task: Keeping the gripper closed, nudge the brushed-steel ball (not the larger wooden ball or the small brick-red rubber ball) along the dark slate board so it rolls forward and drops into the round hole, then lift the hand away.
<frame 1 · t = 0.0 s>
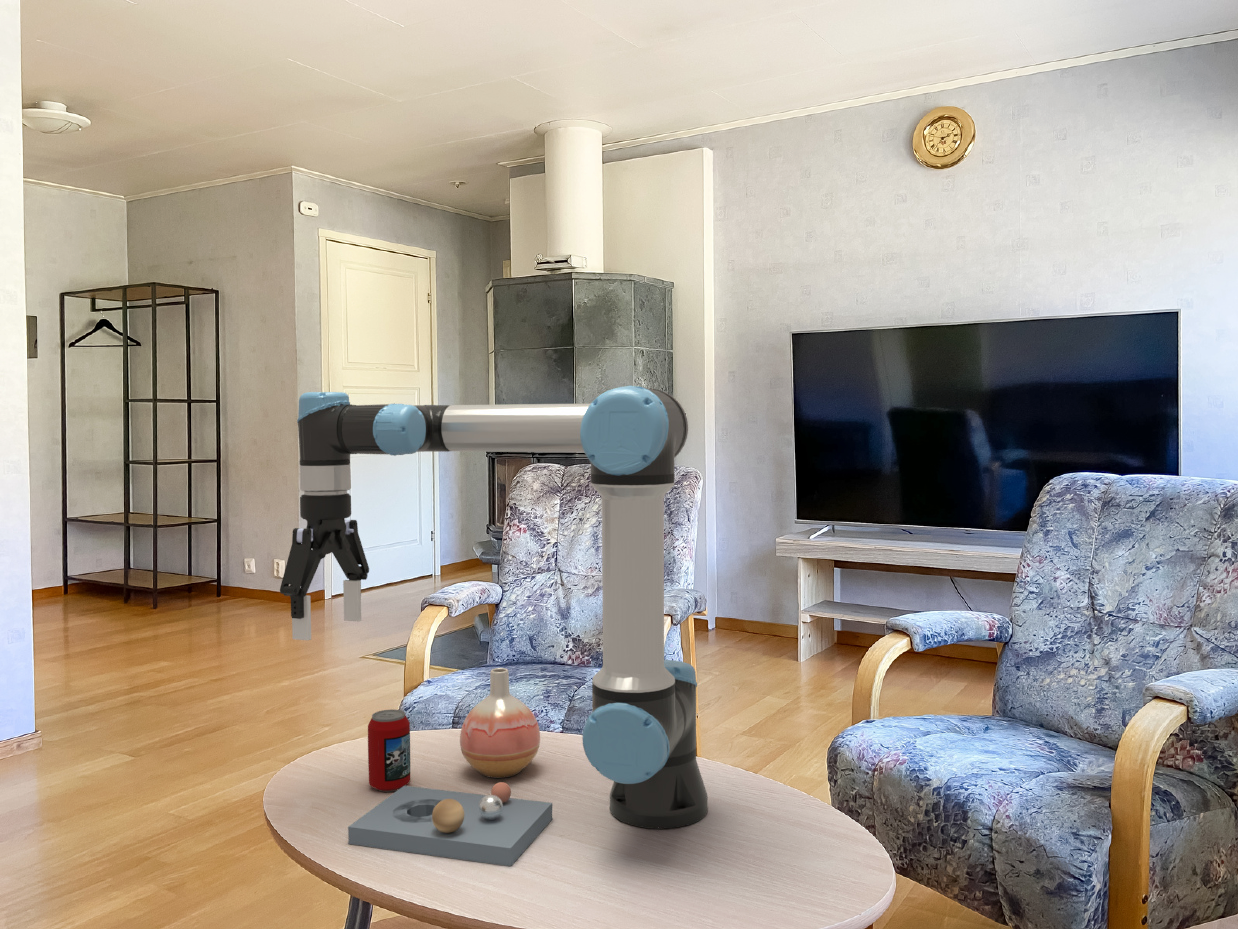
hand: (328, 629, 149), 28 cm above the table, fingers open, 13 cm apart
vase: (500, 772, 165), on the table
wooden ball: (448, 815, 135), point 5 cm above the table, touching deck
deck: (453, 831, 142), on the table
beverage can: (389, 787, 159), on the table
steel ball: (490, 807, 140), point 4 cm above the table, touching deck
rubber ball: (501, 792, 146), point 4 cm above the table, touching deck
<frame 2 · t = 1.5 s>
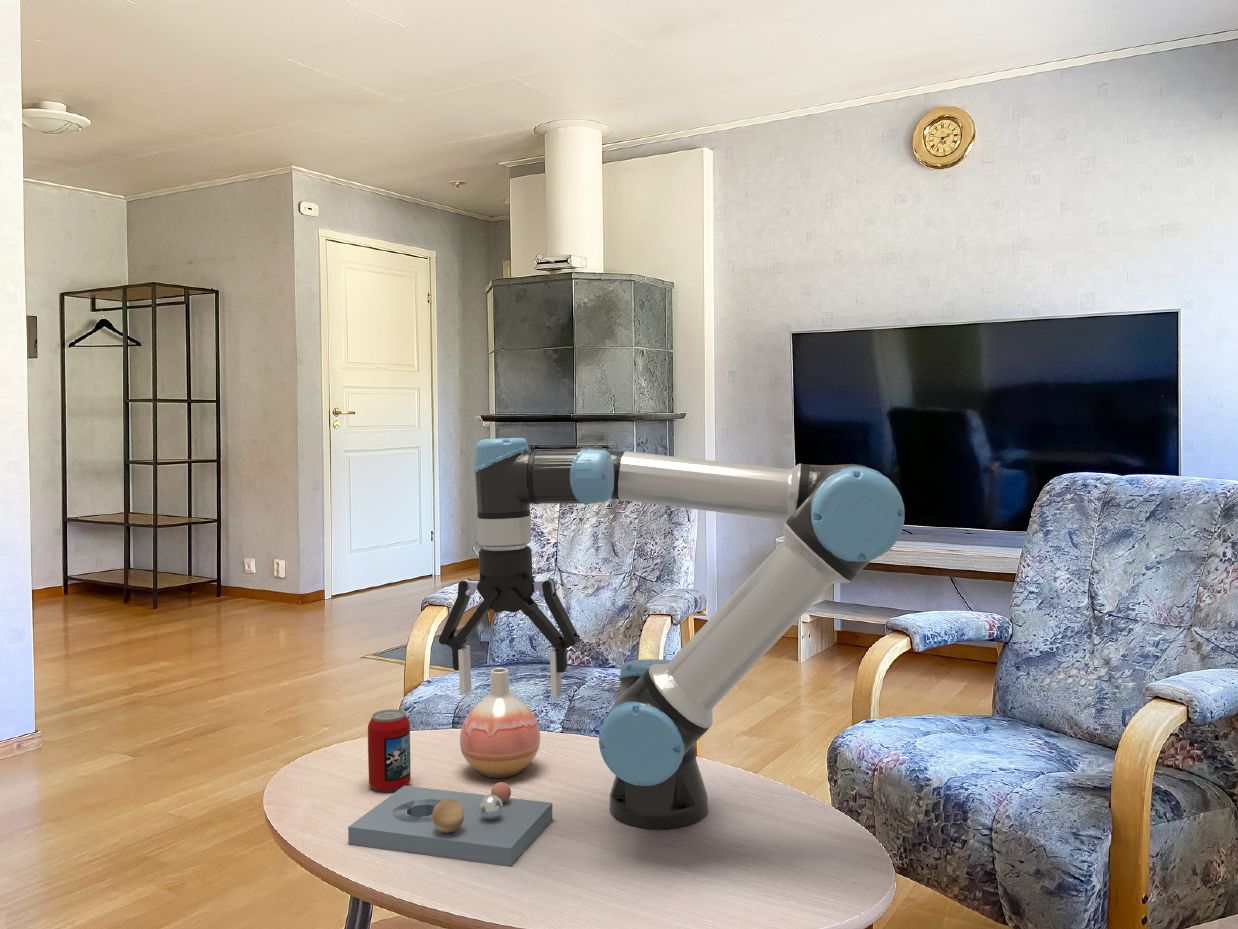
hand: (510, 693, 138), 21 cm above the table, fingers open, 13 cm apart
nothing on the table moved.
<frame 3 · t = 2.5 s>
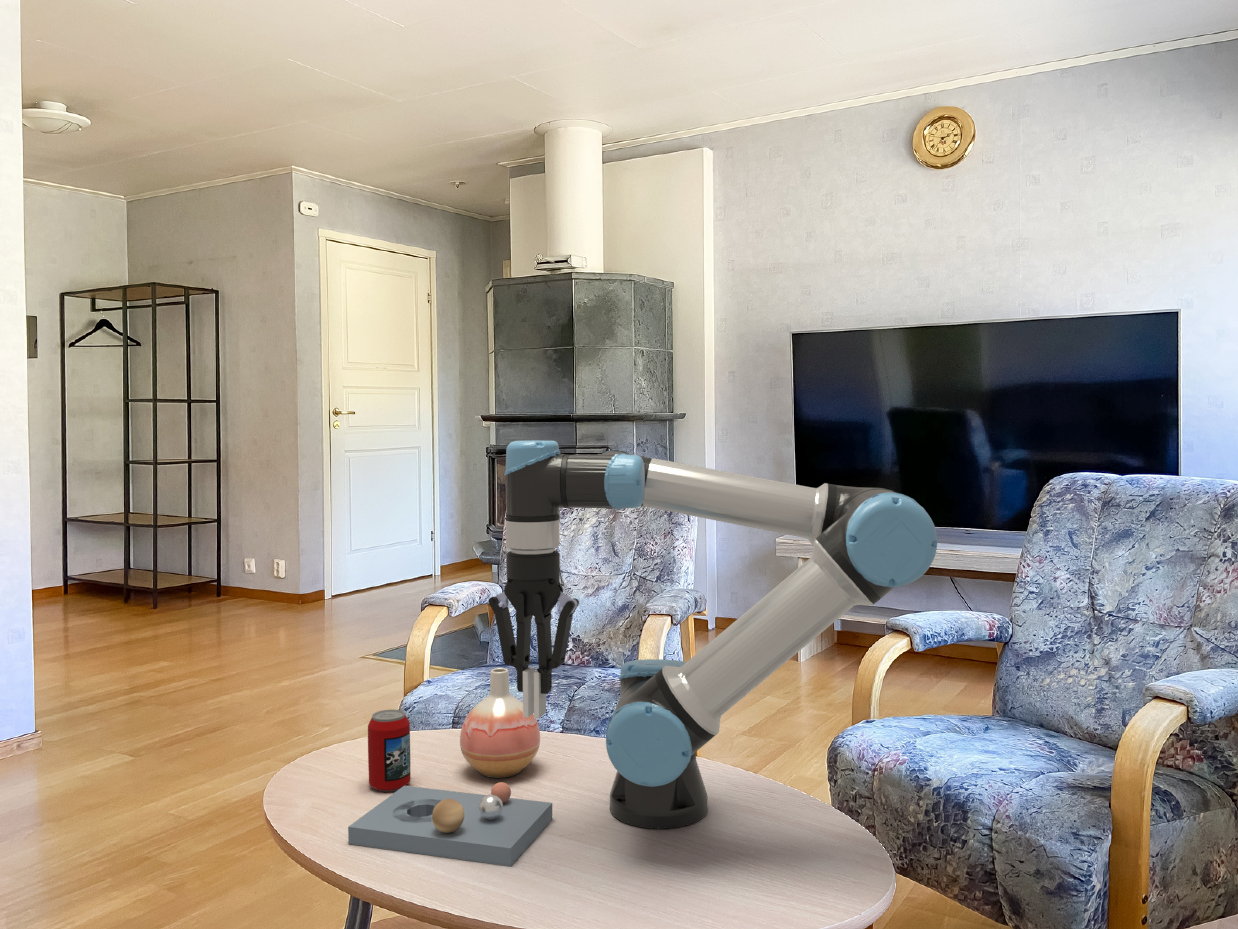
hand: (534, 714, 137), 18 cm above the table, fingers closed
nothing on the table moved.
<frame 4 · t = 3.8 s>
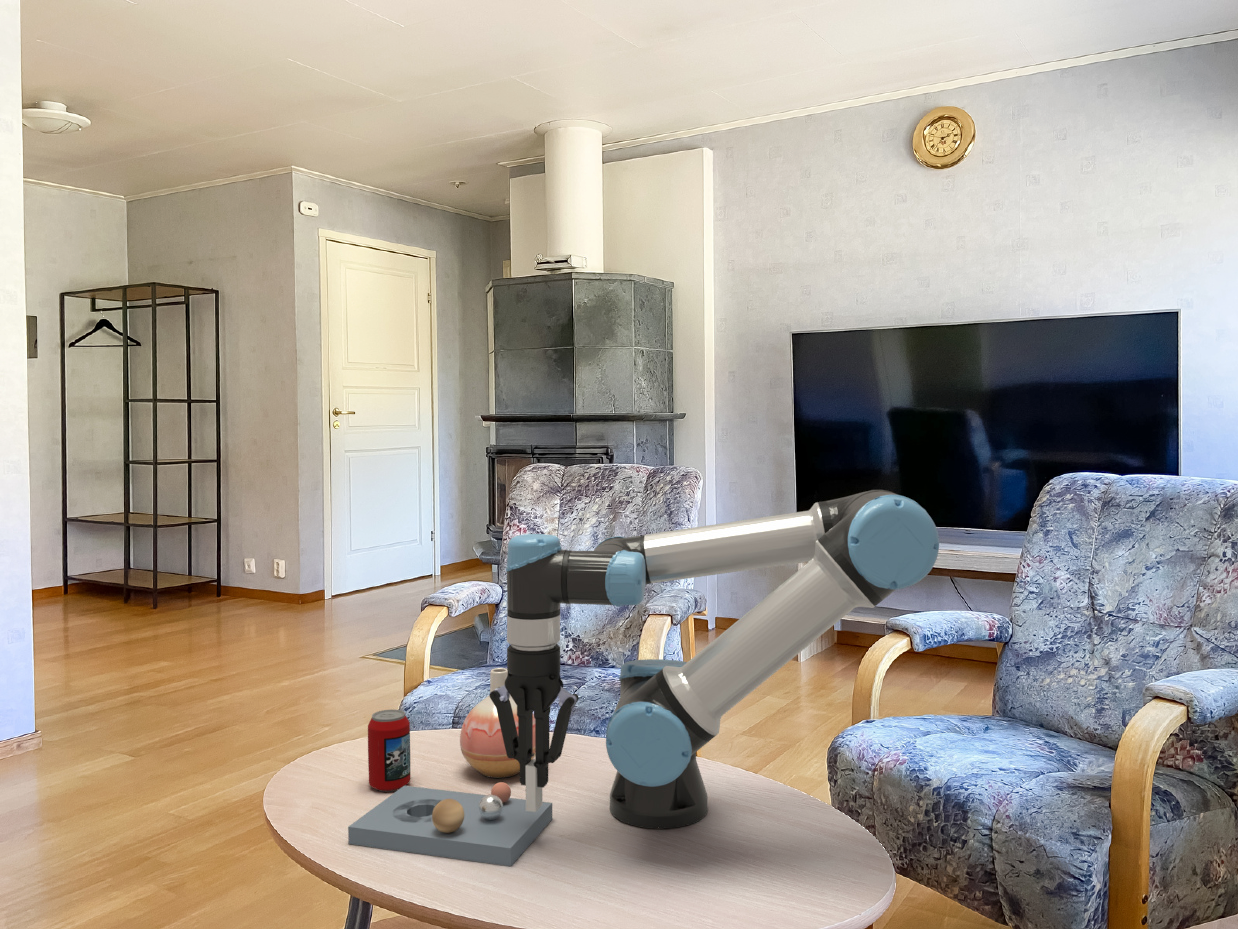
hand: (534, 807, 138), 5 cm above the table, fingers closed
nothing on the table moved.
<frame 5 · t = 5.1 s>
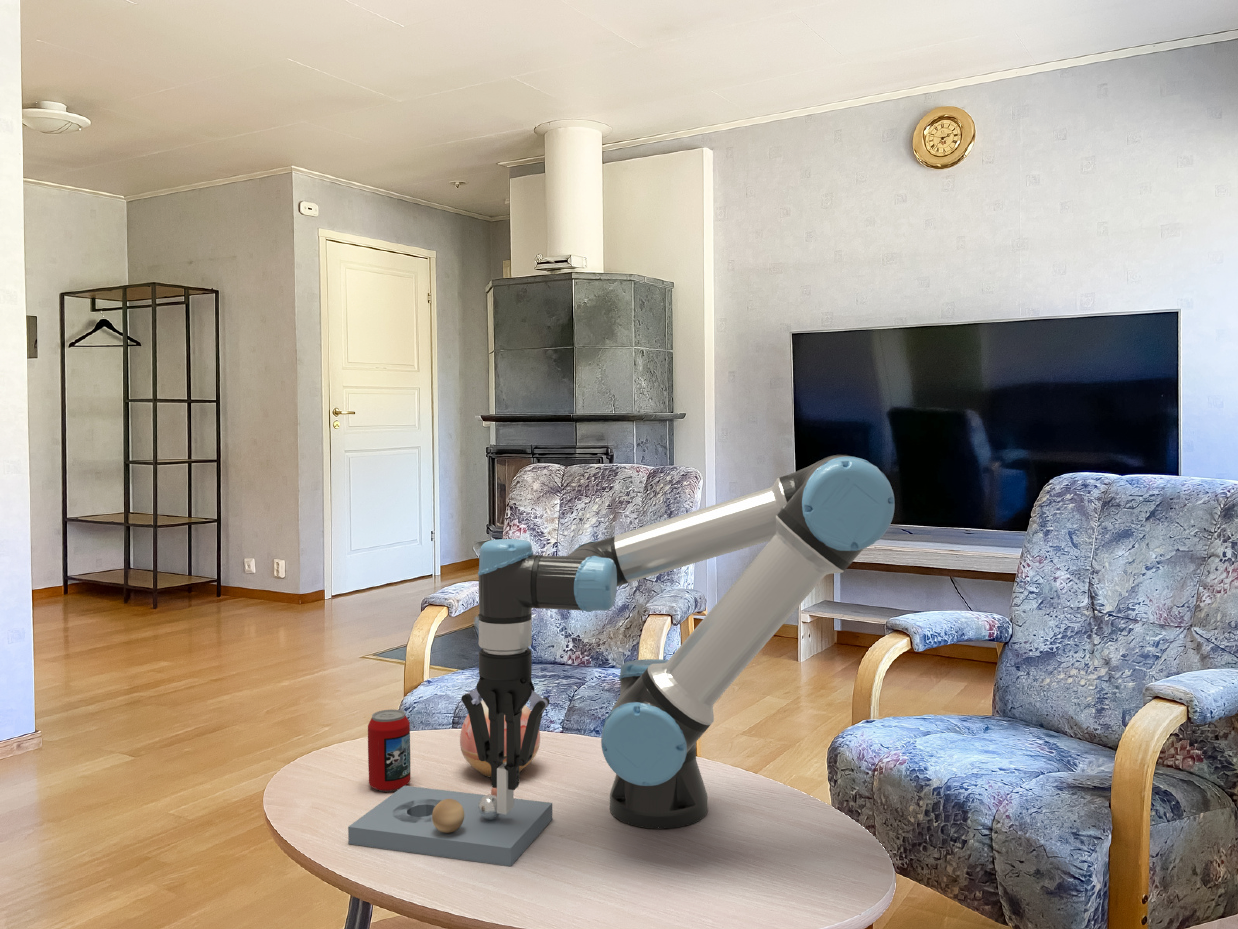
hand: (505, 810, 139), 4 cm above the table, fingers closed
steel ball: (489, 807, 140), point 4 cm above the table, touching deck, gripper
everything else where it was.
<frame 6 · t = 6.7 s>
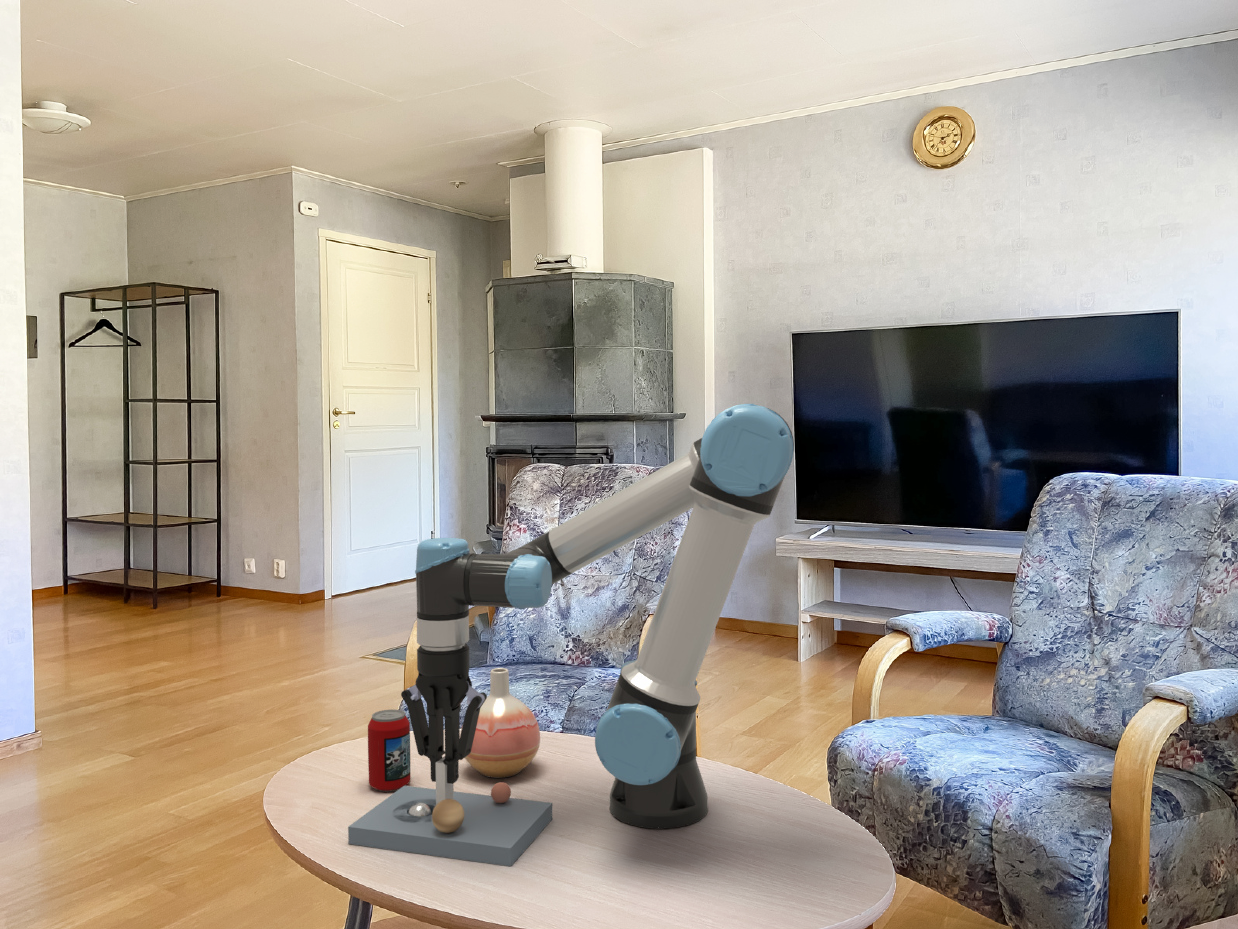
hand: (444, 803, 142), 4 cm above the table, fingers closed
steel ball: (419, 815, 143), point 2 cm above the table, tilted 79°
everything else where it was.
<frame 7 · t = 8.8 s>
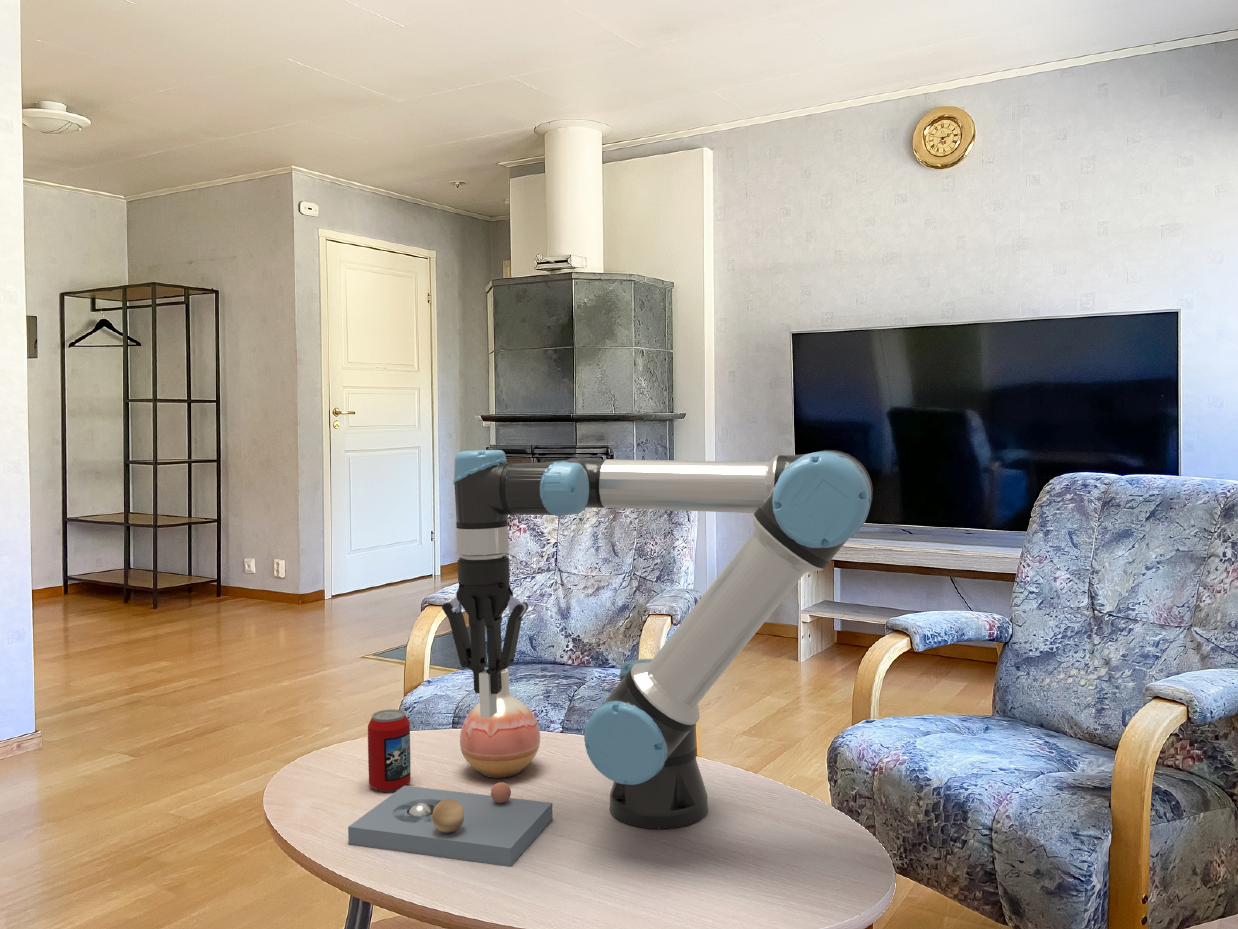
hand: (488, 714, 142), 17 cm above the table, fingers closed
nothing on the table moved.
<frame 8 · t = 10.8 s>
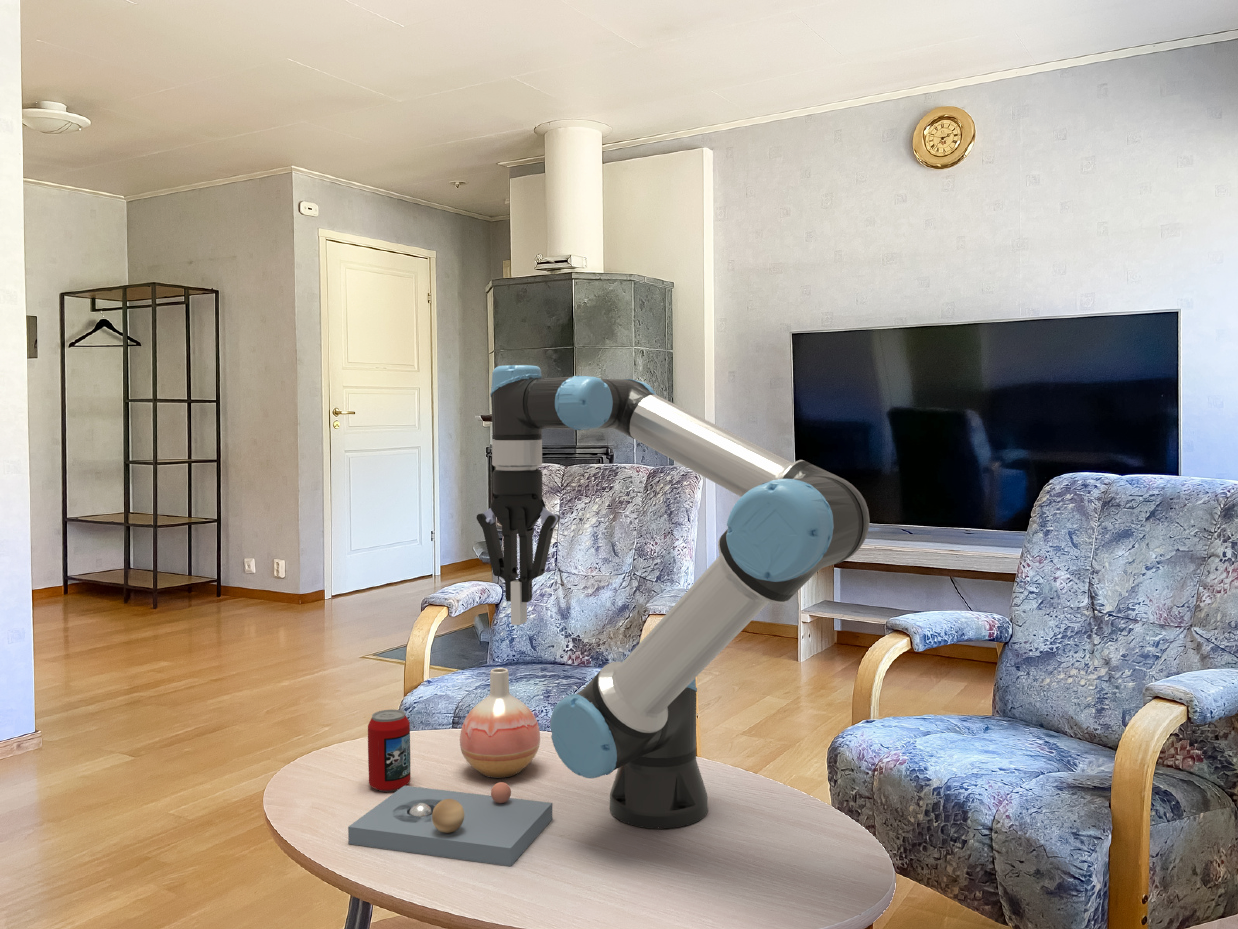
hand: (519, 622, 147), 29 cm above the table, fingers closed
nothing on the table moved.
at the end: steel ball 0.3 cm from the target spot on the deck, point 1.7 cm above the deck's base; wooden ball moved 0.0 cm from its start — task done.
